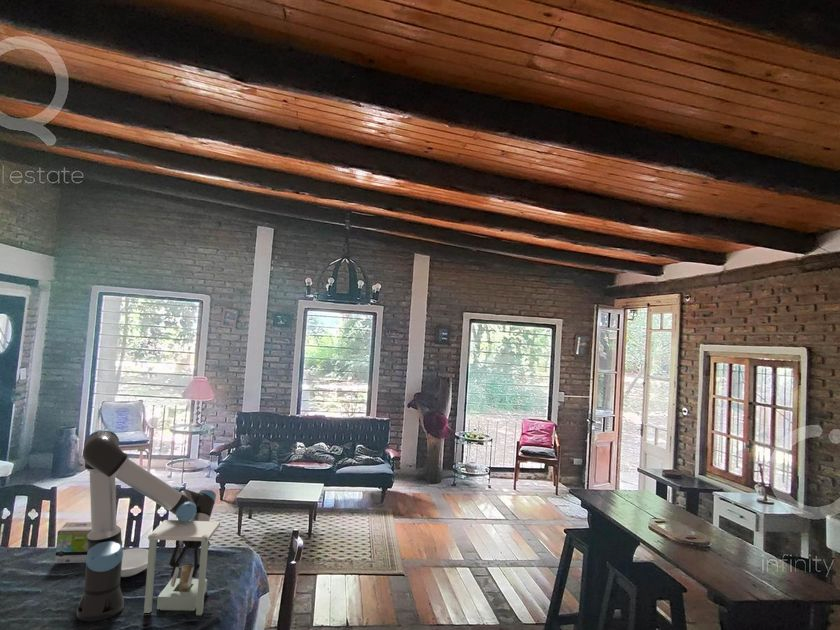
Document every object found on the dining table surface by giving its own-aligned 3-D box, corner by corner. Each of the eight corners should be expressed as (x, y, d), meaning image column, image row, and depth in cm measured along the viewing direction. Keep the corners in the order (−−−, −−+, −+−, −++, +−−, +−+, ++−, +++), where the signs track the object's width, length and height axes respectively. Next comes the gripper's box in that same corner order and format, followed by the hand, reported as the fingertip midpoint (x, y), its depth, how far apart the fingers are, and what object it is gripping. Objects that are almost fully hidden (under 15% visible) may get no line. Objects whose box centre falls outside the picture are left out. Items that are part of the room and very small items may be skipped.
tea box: (54, 564, 223) (56, 530, 223) (63, 554, 233) (66, 521, 233) (92, 562, 227) (95, 529, 227) (100, 552, 237) (103, 520, 237)
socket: (142, 614, 192) (148, 535, 193) (161, 590, 209) (166, 517, 210) (202, 615, 194) (208, 537, 195) (216, 591, 211) (221, 519, 212)
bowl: (163, 565, 229) (164, 551, 229) (134, 588, 210) (135, 572, 210) (122, 560, 231) (123, 546, 231) (89, 582, 212) (90, 566, 212)
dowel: (175, 599, 201) (180, 567, 202) (179, 594, 205) (183, 563, 206) (186, 599, 201) (190, 568, 203) (189, 595, 205) (194, 564, 207)
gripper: (221, 531, 220) (206, 589, 203) (177, 529, 218) (158, 588, 201) (219, 523, 214) (203, 583, 198) (173, 522, 213) (153, 582, 196)
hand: (180, 585), depth 200 cm, fingers open, 5 cm apart
